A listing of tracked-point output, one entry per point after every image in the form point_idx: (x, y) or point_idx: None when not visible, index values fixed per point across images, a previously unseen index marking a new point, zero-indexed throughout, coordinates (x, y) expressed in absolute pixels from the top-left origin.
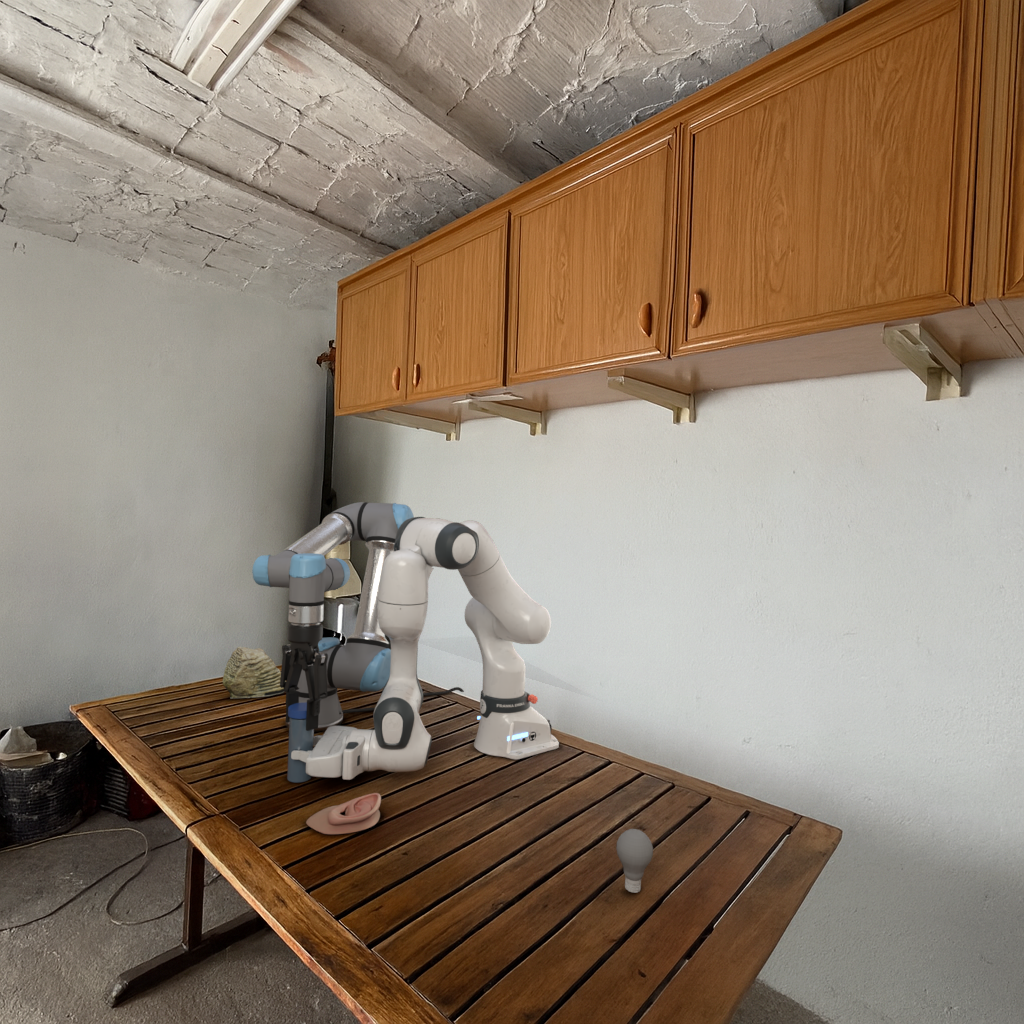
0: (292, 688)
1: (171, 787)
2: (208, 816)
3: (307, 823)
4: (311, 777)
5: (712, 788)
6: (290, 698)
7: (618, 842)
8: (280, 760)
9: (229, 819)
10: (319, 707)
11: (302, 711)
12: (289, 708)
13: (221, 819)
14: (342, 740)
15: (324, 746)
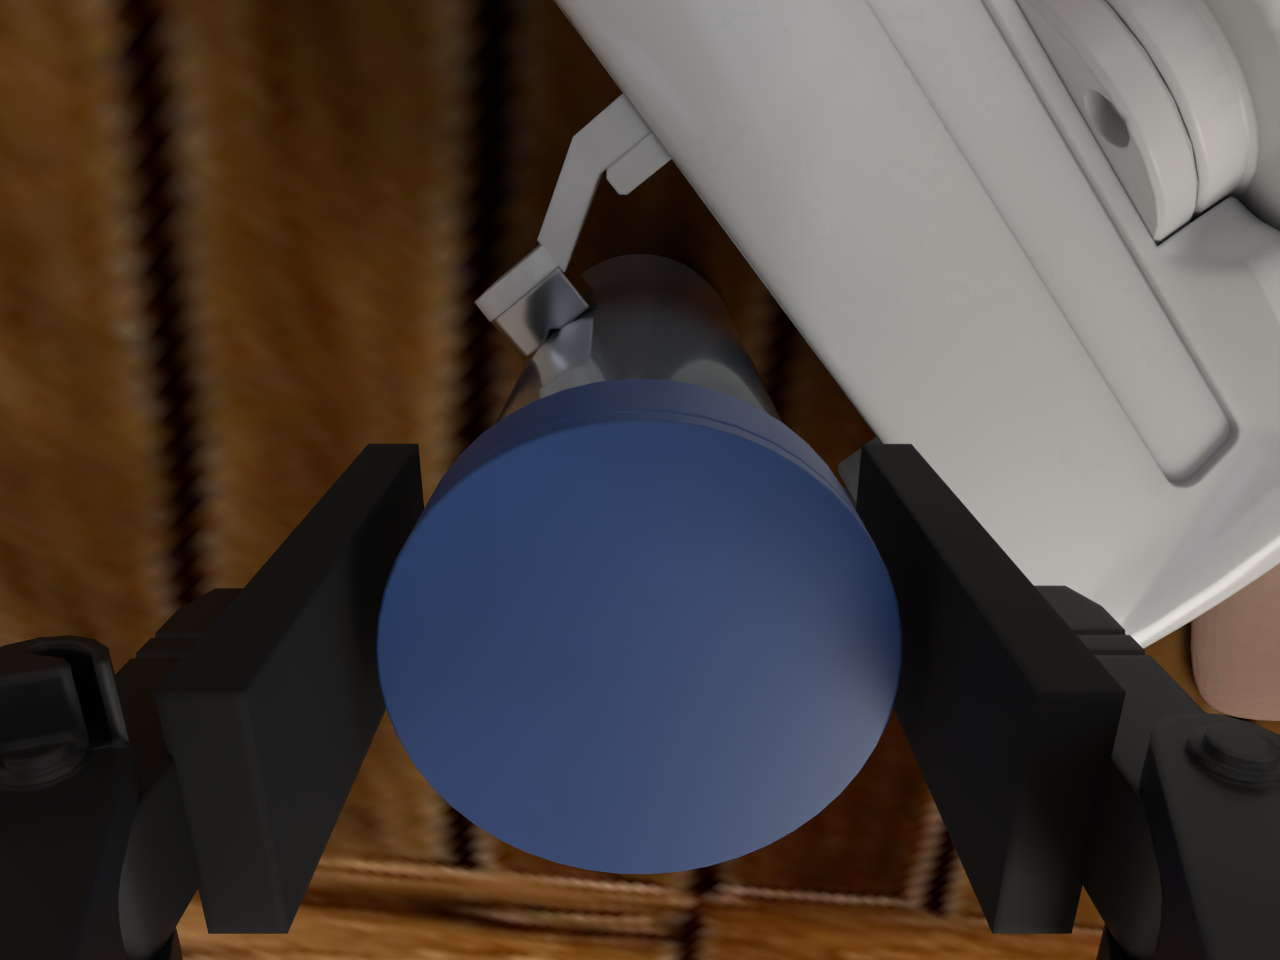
0: (135, 882)
1: (203, 915)
2: (684, 939)
3: (1235, 715)
4: (720, 297)
5: None
6: (322, 813)
7: None
8: (229, 262)
9: (798, 897)
10: (1153, 670)
11: (842, 790)
12: (561, 854)
13: (765, 918)
14: (1007, 81)
15: (999, 391)
